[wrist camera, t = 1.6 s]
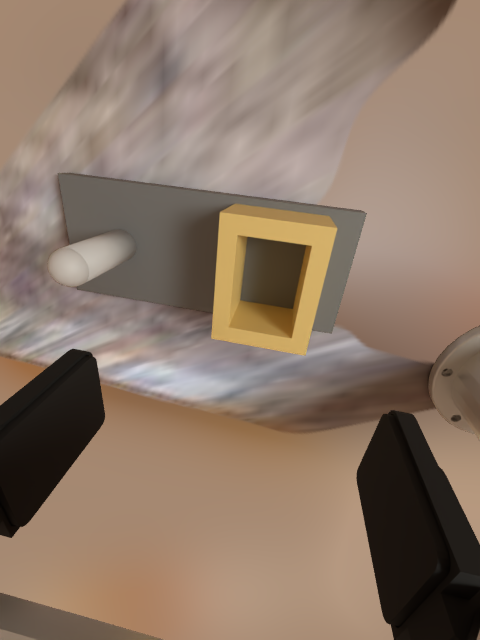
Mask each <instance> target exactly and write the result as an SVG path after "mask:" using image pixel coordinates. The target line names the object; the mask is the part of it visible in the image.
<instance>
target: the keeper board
mask: <svg viewBox="0 0 480 640" xmlns="http://www.w3.org/2000/svg"><path fill="white" fill-rule="evenodd" d="M58 178H59V184H60V190H61V196H62V202H63V208H64V214H65V220H66V226H67V231H68V237H69V243H70V245H68V246H65V247H62V248H60V249H57V250H56V251H54V252H53V253H52V254H51V255H50V257H49V259H48V264H47V266H48V271H49V274H50V275H51V277H52V278H53V279H54V280H55V281H56V282H58V283H59V284H61V285H64V286H69V287H75V286H77V290H83V291H89V292H95V293H100V294H106V295H112V296H118V297H123V298H129V299H135V300H141V301H146V302H152V303H158V304H164V305H169V306H175V307H181V308H187V309H193V310H198V311H204V312H210V313H213V306H214V292H215V277H216V262H217V247H218V232H219V217H220V212H221V211H223V210H225V209H226V208H228V207H230V206H232V205H234V204H242V205H250V206H258V207H265V208H273V209H280V210H288V211H295V212H303V213H310V214H318V215H325V216H330V218H331V219H332V221H333V222H334V224H335V225H336V227H337V232H336V236H335V240H334V244H333V248H332V252H331V256H330V260H329V264H328V268H327V272H326V276H325V280H324V283H323V287H322V291H321V295H320V299H319V303H318V307H317V311H316V315H315V319H314V323H313V327H312V330H313V331H319V332H325V333H331V334H332V331H333V327H334V324H335V320H336V317H337V313H338V310H339V307H340V303H341V299H342V296H343V293H344V289H345V286H346V282H347V279H348V276H349V272H350V269H351V265H352V262H353V259H354V255H355V252H356V248H357V245H358V241H359V238H360V235H361V231H362V228H363V224H364V221H365V217H366V214H367V213H365V212H364V211H361V210H353V209H345V208H337V207H329V206H322V205H314V204H306V203H299V202H291V201H283V200H275V199H268V198H260V197H252V196H245V195H237V194H229V193H221V192H214V191H206V190H198V189H190V188H183V187H175V186H167V185H159V184H152V183H144V182H136V181H128V180H121V179H113V178H105V177H98V176H90V175H82V174H74V173H58ZM305 249H306V245H303V244H296V243H289V242H282V241H275V240H268V239H261V238H254V237H247V245H246V254H245V262H244V271H243V280H242V289H241V298H240V300H241V301H247V302H253V303H259V304H265V305H271V306H277V307H283V308H289V309H293V306H294V301H295V296H296V292H297V287H298V282H299V277H300V272H301V268H302V263H303V258H304V253H305Z"/></svg>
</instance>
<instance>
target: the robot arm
mask: <svg viewBox="0 0 480 640" xmlns="http://www.w3.org/2000/svg"><path fill="white" fill-rule="evenodd" d="M428 389H429V394H430V398H431V400H432V402H433V404H434V406H435V407H436V409H437V410H438V412H439V413H440V415H441V416H442V417H443V418H444V419H445V420H446V421H447V422H449V423H450V424H452V425H454V426H455V427H457V428H459V429H461V430H464V431H467V432H469V433H472V434H475V435H476V436H477V438H478V439H479V441H480V326H478V327H475V328H473V329H472V330H470V331H468V332H467V333H465V334H463V335H462V336H460V337H458V338H457V339H456V340H455V341H454V342H452V343H451V344H450V345H449V346H447V348H446V349H445V350H444V351H443V352H442V354H440V356H439V357H438V358H437V360H436V362H435V364H434V365H433V367H432V370H431V373H430V376H429V385H428ZM104 419H105V412H104V405H103V400H102V393H101V386H100V380H99V373H98V367H97V361H96V359H95V358H94V357H93V355H92V354H91V352H87V351H82V350H77V349H71V350H69V351H68V352H66V353H65V354H64V355H63V356H61V357H60V358H59V359H58V360H57V361H55V362H54V363H53V364H52V365H50V366H49V367H48V368H47V369H45V370H44V371H43V372H42V373H40V374H39V375H38V376H37V377H35V378H34V379H33V380H32V381H30V382H29V383H28V384H27V385H26V386H24V387H23V388H22V389H20V390H19V391H18V392H17V393H15V394H14V395H13V396H12V397H10V398H9V399H8V400H7V401H5V402H4V403H3V404H2V405H0V535H2V536H6V537H10V538H12V537H13V535H14V534H15V533H16V532H17V530H18V529H19V527H23V526H25V525H26V524H27V523H28V522H29V521H30V520H31V519H32V517H33V516H34V515H35V513H36V512H37V511H38V509H39V508H40V507H41V505H42V504H43V503H44V502H45V500H46V499H47V498H48V496H49V495H50V494H51V492H52V491H53V490H54V488H55V487H56V486H57V484H58V483H59V482H60V480H61V479H62V478H63V476H64V475H65V474H66V472H67V471H68V470H69V468H70V467H71V466H72V464H73V463H74V462H75V460H76V459H77V458H78V456H79V455H80V454H81V452H82V451H83V450H84V449H85V447H86V446H87V445H88V443H89V442H90V441H91V439H92V438H93V437H94V435H95V434H96V433H97V431H98V430H99V429H100V427H101V426H102V424H103V422H104ZM357 485H358V490H359V495H360V500H361V506H362V510H363V515H364V521H365V526H366V531H367V537H368V542H369V547H370V552H371V557H372V562H373V568H374V573H375V578H376V583H377V588H378V594H379V599H380V604H381V609H382V613H383V617H384V619H385V621H386V622H387V623H388V624H391V628H392V632H393V637H394V640H480V544H479V542H478V540H477V538H476V536H475V534H474V532H473V530H472V528H471V526H470V524H469V522H468V520H467V517H466V515H465V513H464V511H463V509H462V507H461V505H460V504H459V501H458V499H457V497H456V495H455V493H454V491H453V490H452V487H451V485H450V483H449V481H448V478H447V476H446V475H445V473H444V472H443V470H442V469H441V468H440V467H439V466H438V464H437V462H436V460H435V458H434V456H433V454H432V452H431V450H430V448H429V446H428V443H427V441H426V439H425V437H424V435H423V433H422V431H421V429H420V426H419V424H418V422H417V420H416V418H415V417H414V415H412V414H409V413H404V412H399V411H394V410H391V411H390V412H389V413H388V414H383V415H382V417H381V419H380V421H379V424H378V426H377V428H376V430H375V433H374V435H373V437H372V439H371V441H370V443H369V445H368V448H367V450H366V452H365V454H364V456H363V459H362V461H361V463H360V466H359V468H358V470H357ZM0 640H163V639H160V638H156V637H153V636H149V635H146V634H143V633H139V632H136V631H132V630H129V629H125V628H122V627H118V626H115V625H111V624H108V623H105V622H101V621H98V620H94V619H90V618H87V617H84V616H80V615H77V614H73V613H70V612H66V611H62V610H59V609H56V608H52V607H49V606H45V605H42V604H38V603H35V602H31V601H28V600H24V599H20V598H17V597H14V596H10V595H6V594H3V593H0Z"/></svg>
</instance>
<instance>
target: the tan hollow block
mask: <svg viewBox="0 0 480 640" xmlns="http://www.w3.org/2000/svg"><path fill="white" fill-rule="evenodd" d="M336 232H337V227H336V225H335V224H334V222H333V221H332V219H331V218H330V216H325V215H318V214H310V213H303V212H295V211H288V210H280V209H273V208H265V207H258V206H250V205H242V204H234V205H232V206H230V207H228V208H226V209H225V210H223V211H221V212H220V217H219V232H218V247H217V262H216V277H215V292H214V306H213V321H212V336H211V338H212V339H217V340H223V341H228V342H234V343H239V344H245V345H250V346H255V347H261V348H266V349H272V350H277V351H283V352H288V353H294V354H299V355H306V351H307V347H308V343H309V339H310V335H311V331H312V327H313V323H314V319H315V315H316V311H317V307H318V303H319V299H320V295H321V291H322V287H323V283H324V280H325V276H326V272H327V268H328V264H329V260H330V256H331V252H332V248H333V244H334V240H335V236H336ZM247 237H254V238H261V239H268V240H275V241H282V242H289V243H296V244H303V245H306V249H305V253H304V258H303V263H302V268H301V272H300V277H299V282H298V287H297V292H296V296H295V301H294V306H293V309H289V308H283V307H277V306H271V305H265V304H259V303H253V302H247V301H241V300H240V298H241V289H242V280H243V271H244V262H245V254H246V245H247Z"/></svg>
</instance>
